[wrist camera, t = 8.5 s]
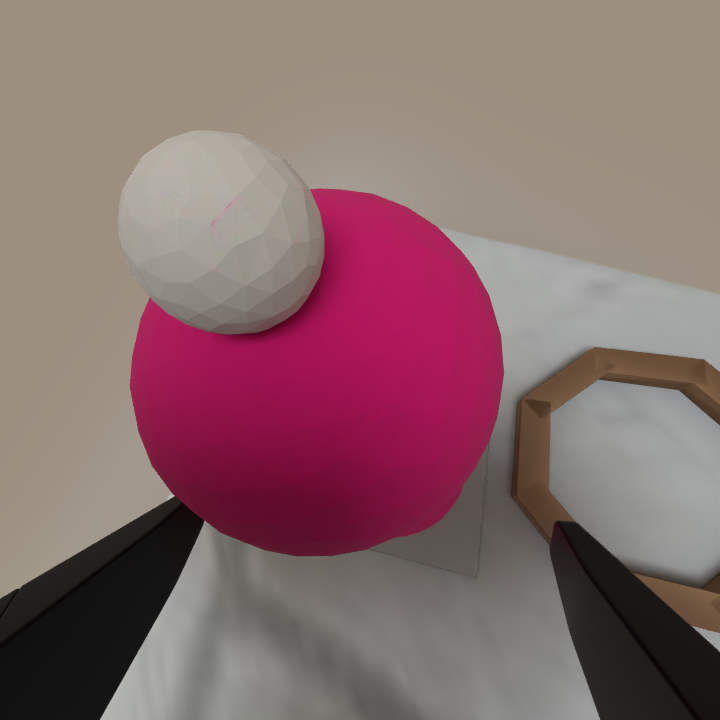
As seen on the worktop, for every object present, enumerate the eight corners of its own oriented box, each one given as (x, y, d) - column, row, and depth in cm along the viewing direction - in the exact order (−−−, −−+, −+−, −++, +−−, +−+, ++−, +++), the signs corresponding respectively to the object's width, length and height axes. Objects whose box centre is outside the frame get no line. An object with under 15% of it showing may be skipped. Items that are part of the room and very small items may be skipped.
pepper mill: (339, 405, 23) (-17, 1, 5) (454, 402, 21) (600, -172, 3) (334, 528, 20) (-635, 766, 2) (465, 533, 19) (1763, 1501, 1)
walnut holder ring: (828, 658, 15) (860, 670, 14) (507, 573, 18) (512, 578, 17) (769, 376, 20) (790, 369, 18) (520, 347, 23) (525, 339, 21)
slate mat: (476, 576, 18) (477, 578, 18) (299, 529, 21) (297, 529, 20) (491, 395, 22) (493, 393, 21) (339, 372, 24) (337, 370, 24)
